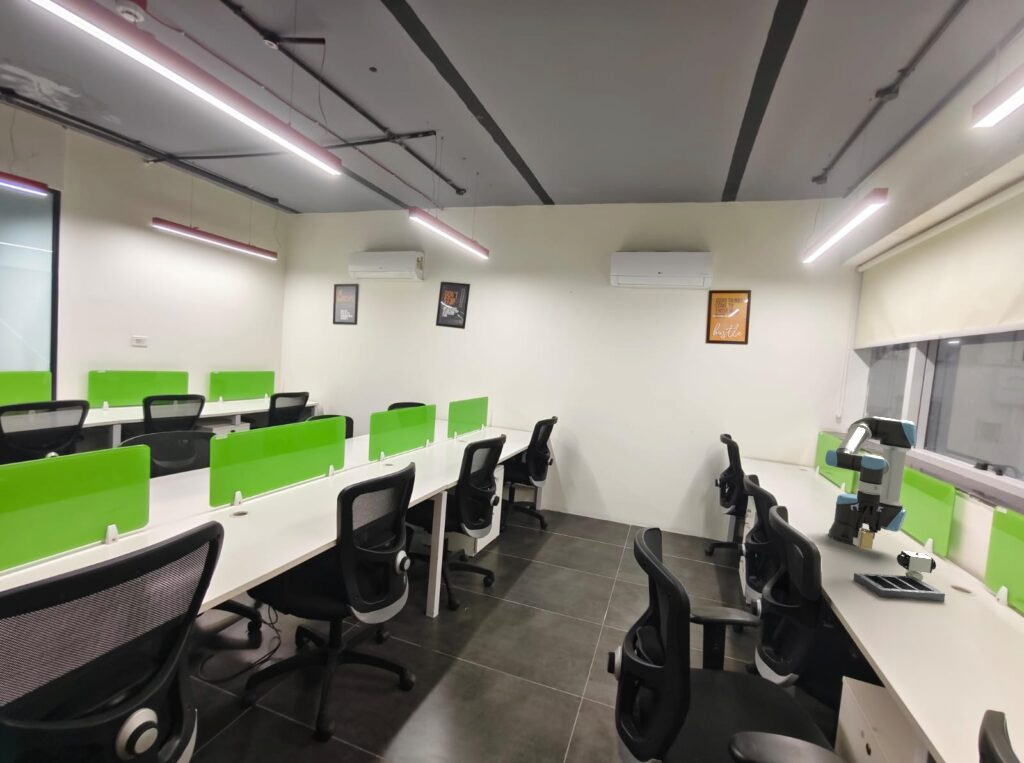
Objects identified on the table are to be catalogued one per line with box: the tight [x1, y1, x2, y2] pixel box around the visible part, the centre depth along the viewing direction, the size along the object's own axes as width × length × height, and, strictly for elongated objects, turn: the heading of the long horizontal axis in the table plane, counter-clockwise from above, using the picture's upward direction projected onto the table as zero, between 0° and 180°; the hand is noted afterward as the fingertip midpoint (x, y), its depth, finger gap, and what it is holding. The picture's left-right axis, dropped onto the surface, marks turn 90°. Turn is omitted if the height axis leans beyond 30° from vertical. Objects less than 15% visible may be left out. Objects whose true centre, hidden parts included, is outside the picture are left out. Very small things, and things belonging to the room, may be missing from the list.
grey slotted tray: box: [853, 572, 946, 602], centre depth 174 cm, size 13×25×3 cm, turn 91°
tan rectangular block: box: [857, 527, 875, 550], centre depth 185 cm, size 4×4×8 cm
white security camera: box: [896, 550, 937, 581], centre depth 184 cm, size 6×12×12 cm, turn 78°
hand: (862, 545), depth 185 cm, fingers closed on tan rectangular block, 4 cm apart
